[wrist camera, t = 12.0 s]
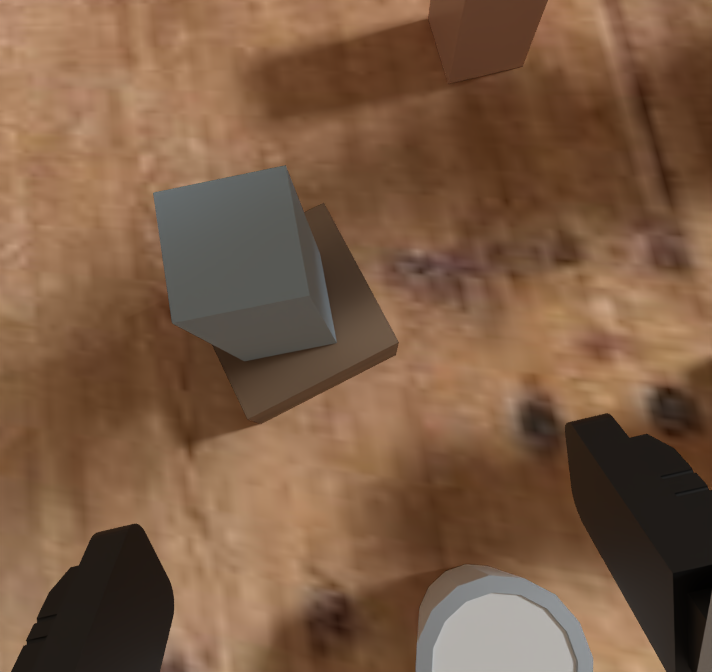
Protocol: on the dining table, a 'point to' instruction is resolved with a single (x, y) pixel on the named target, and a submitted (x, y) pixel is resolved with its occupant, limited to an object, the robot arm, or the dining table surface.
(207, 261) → the blue pillar
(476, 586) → the white short cylinder
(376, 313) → the walnut plinth
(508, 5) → the terracotta pillar
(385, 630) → the dining table surface
